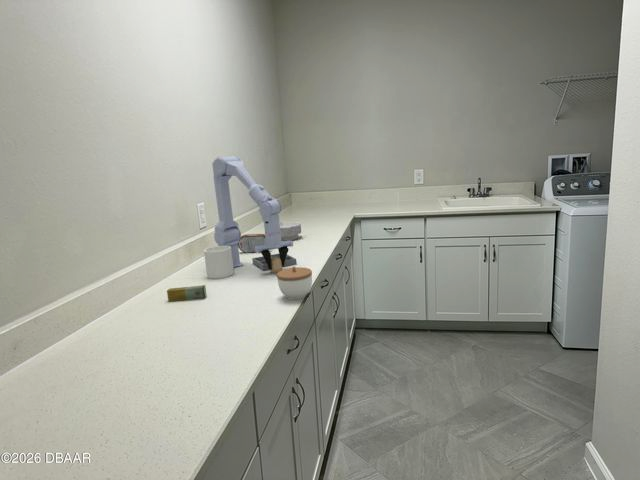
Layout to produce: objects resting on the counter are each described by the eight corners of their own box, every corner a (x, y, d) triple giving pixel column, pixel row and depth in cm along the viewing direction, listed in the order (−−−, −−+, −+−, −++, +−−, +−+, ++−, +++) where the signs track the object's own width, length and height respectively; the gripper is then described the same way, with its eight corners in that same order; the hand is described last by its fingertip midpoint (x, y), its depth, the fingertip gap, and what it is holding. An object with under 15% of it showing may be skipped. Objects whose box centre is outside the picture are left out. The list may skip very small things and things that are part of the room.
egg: (273, 273, 158) (271, 258, 156) (269, 271, 162) (267, 256, 160) (284, 271, 159) (282, 256, 158) (280, 269, 163) (278, 254, 162)
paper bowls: (301, 241, 210) (299, 225, 208) (270, 243, 211) (268, 227, 209) (302, 235, 225) (301, 220, 223) (274, 237, 225) (272, 222, 224)
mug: (226, 279, 156) (222, 252, 153) (202, 278, 159) (198, 252, 156) (241, 269, 167) (238, 244, 165) (219, 269, 170) (216, 244, 168)
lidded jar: (282, 304, 125) (279, 274, 123) (276, 293, 135) (273, 265, 133) (317, 298, 128) (315, 268, 126) (309, 288, 138) (306, 260, 136)
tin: (271, 250, 195) (270, 232, 193) (270, 252, 192) (268, 234, 190) (240, 252, 197) (237, 234, 195) (238, 254, 194) (235, 236, 192)
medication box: (207, 296, 139) (206, 284, 138) (205, 299, 136) (204, 287, 135) (170, 299, 138) (168, 287, 138) (167, 302, 136) (166, 290, 135)
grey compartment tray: (263, 270, 162) (262, 265, 162) (252, 263, 175) (252, 258, 174) (296, 264, 168) (296, 258, 168) (284, 257, 180) (283, 252, 180)
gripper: (257, 237, 151) (261, 273, 154) (294, 230, 157) (298, 266, 160) (251, 234, 157) (255, 269, 160) (287, 228, 163) (291, 262, 166)
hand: (276, 267), depth 160 cm, fingers closed on egg, 4 cm apart
